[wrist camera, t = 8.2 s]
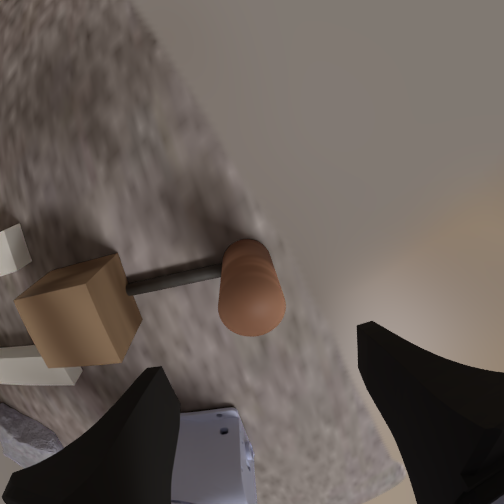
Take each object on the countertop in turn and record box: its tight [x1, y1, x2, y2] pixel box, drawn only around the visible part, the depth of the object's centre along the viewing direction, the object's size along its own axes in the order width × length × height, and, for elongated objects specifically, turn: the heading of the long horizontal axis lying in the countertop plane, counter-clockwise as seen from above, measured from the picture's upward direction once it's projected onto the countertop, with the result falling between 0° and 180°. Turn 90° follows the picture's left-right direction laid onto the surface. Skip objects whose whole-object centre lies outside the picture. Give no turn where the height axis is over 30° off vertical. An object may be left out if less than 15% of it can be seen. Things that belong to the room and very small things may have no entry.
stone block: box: [0, 403, 64, 469], centre depth 24 cm, size 12×5×10 cm
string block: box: [14, 239, 286, 368], centre depth 16 cm, size 16×5×6 cm, turn 102°
